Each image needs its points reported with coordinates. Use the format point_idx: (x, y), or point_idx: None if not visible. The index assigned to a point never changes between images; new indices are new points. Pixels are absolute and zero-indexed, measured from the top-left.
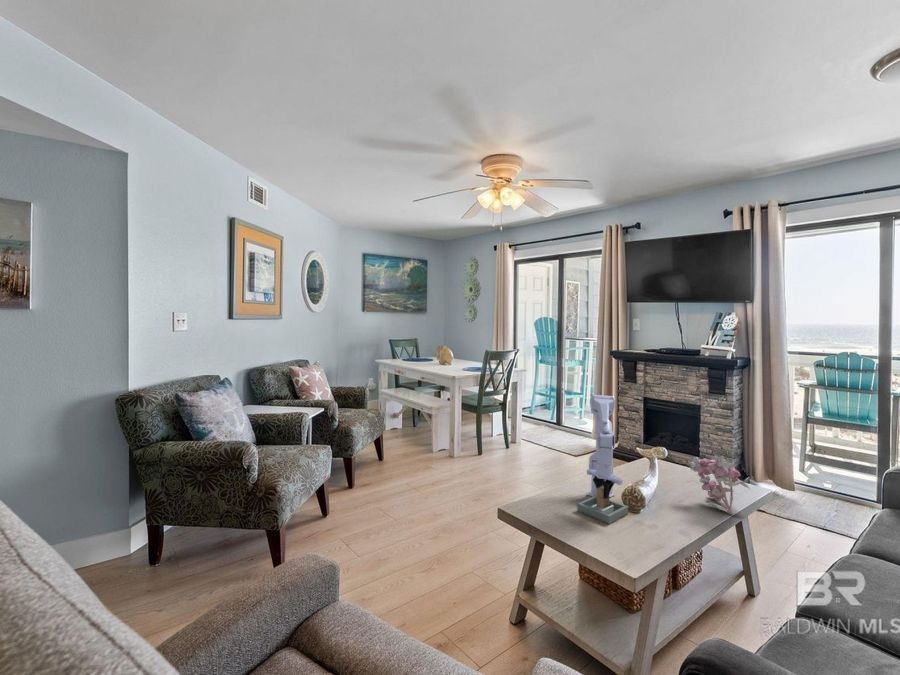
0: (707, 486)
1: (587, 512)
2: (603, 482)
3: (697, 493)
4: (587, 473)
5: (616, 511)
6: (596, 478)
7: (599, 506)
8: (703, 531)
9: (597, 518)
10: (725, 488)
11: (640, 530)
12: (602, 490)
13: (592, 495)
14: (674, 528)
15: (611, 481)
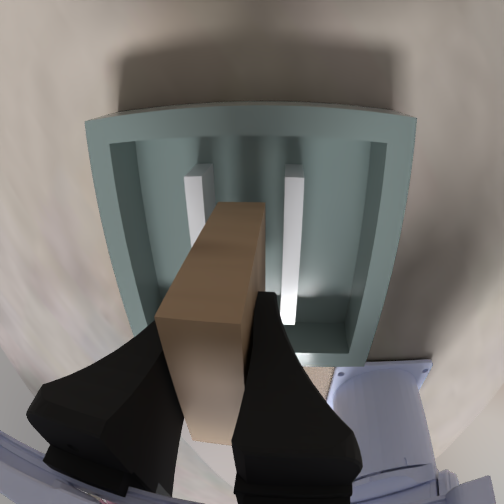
0: (108, 501)
1: (300, 103)
2: (89, 428)
3: (173, 489)
4: (483, 490)
5: (115, 241)
6: (309, 488)
7: (233, 206)
8: (3, 350)
9: (203, 103)
10: (97, 498)
11: (22, 208)
12: (163, 323)
13: (401, 367)
14: (18, 321)
15: (48, 462)
